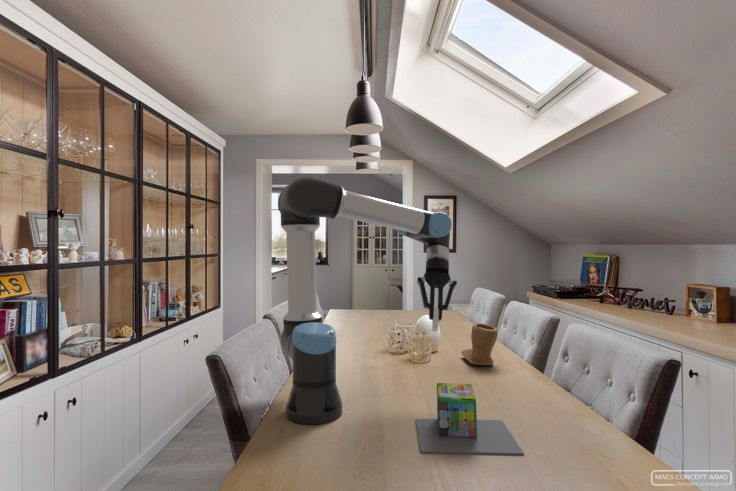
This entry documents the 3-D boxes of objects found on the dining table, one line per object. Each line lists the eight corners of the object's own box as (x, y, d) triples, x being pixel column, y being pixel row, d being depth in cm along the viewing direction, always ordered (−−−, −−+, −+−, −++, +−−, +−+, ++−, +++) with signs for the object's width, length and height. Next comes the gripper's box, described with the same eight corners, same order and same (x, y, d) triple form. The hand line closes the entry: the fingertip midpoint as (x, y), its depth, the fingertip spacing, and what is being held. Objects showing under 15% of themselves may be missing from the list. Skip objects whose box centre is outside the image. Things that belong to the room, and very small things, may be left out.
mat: (420, 452, 88) (420, 451, 88) (415, 420, 105) (415, 418, 105) (523, 454, 87) (523, 453, 87) (501, 421, 104) (501, 420, 104)
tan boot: (501, 367, 152) (501, 327, 152) (469, 367, 152) (469, 327, 152) (489, 357, 167) (489, 320, 167) (460, 357, 167) (460, 320, 167)
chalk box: (472, 418, 105) (480, 446, 91) (436, 416, 107) (438, 444, 92) (472, 382, 105) (479, 405, 91) (436, 381, 107) (437, 403, 92)
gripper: (455, 269, 138) (454, 336, 126) (416, 265, 139) (412, 331, 127) (459, 258, 132) (459, 327, 119) (418, 254, 133) (414, 323, 120)
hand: (435, 329), depth 123 cm, fingers closed
